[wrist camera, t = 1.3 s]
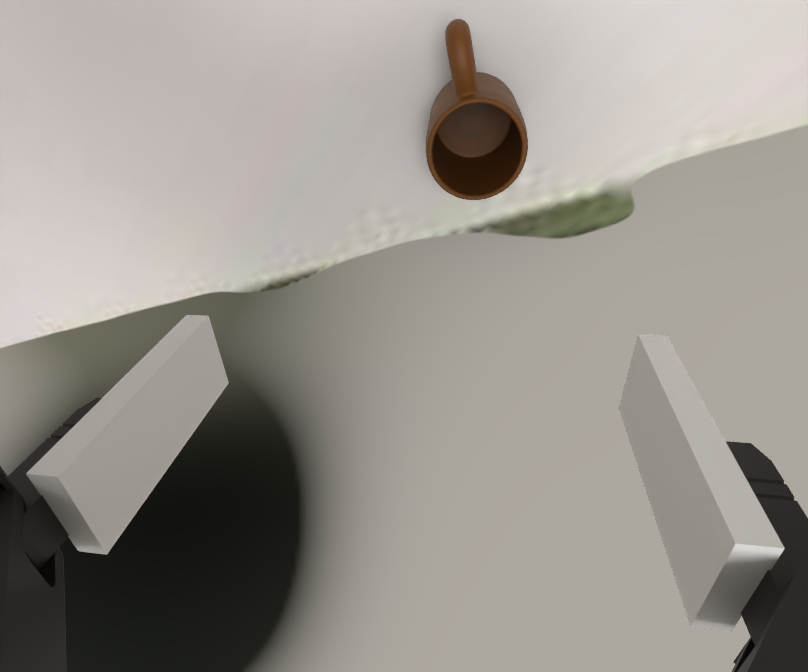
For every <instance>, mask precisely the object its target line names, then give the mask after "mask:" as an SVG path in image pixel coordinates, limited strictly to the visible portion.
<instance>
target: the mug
mask: <svg viewBox="0 0 808 672" xmlns="http://www.w3.org/2000/svg"><path fill="white" fill-rule="evenodd" d="M446 46H447V52H448V58H449V63H450V69H451V74H452V79H453V80H452V81H451V82H449V83H448V84H447V85H446V86H445V87H444V88H443V89H442V90H441V91H440V93H439V94H438V96H437V98H436V100H435V102H434V104H433V107H432V110H431V114H430V119H429V124H428V130H427V136H426V153H427V162H428V166H429V169H430V171H431V174H432V176H433V177H434V179H435V181H436V182H437V183H438V184H439V185H440V186H441V187H442V188H443V189H444V190H445V191H447V192H448V193H450V194H452V195H454V196H456V197H459V198H462V199H468V200H480V199H486V198H489V197H492V196H494V195H497V194H499V193H500V192H502V191H504V190H505V189H506V188H508V187H509V186H510V185H511V184H512V183H513V182H514V181H515V179H516V178H517V177H518V175H519V174H520V172H521V170H522V168H523V166H524V163H525V161H526V156H527V150H528V139H527V131H526V126H525V123H524V119H523V117H522V114H521V112H520V109H519V107H518V105H517V103H516V100H515V98H514V96H513V94H512V93H511V91H510V90H509V88H508V87H507V86H506V85H505V84H504V83H503V82H502V81H501V80H499V79H497V78H496V77H494V76H491V75H489V74H485V73H476V67H475V61H474V54H473V48H472V41H471V35H470V29H469V26H468V24H467V23H466V22H465V21H463V20H461V19H455V20H453V21H452V22H450V24H449V25H448V26H447V29H446Z"/></svg>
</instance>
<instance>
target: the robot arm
mask: <svg viewBox="0 0 808 672" xmlns="http://www.w3.org/2000/svg"><path fill="white" fill-rule="evenodd" d="M227 384H228V379H227V376H226V373H225V369H224V366H223V363H222V359H221V356H220V353H219V349H218V346H217V343H216V340H215V336H214V333H213V329H212V326H211V323H210V319H209V316H199V315H186V316H185V317H184V318H183V319H182V320H181V321H180V322H179V323H178V324H177V325H176V326H175V327H174V328H173V329H172V330H171V331H170V332H169V333H168V334H167V335H166V336H165V337H164V338H163V339H162V340H161V341H160V342H159V343H158V344H157V345H156V346H155V347H154V348H153V349H152V350H151V351H150V352H149V353H147V355H145V357H143V358H142V360H141V361H139V362H138V363H137V364H136V365H135V366H134V367H133V368H132V369H131V370H130V371H129V372H128V373H127V374H126V375H125V376H124V377H123V378H122V379H121V380H120V381H119V382H118V383H117V384H116V385H115V386H114V387H113V388H112V389H111V390H110V391H109V392H108V393H107V394H106V395H105V396H104V397H103V398H96V399H95V400H93V401H91V402H90V403H88V404H86V405H85V406H83V407H81V408H80V409H78V410H77V411H76V412H75V413H74V414H73V415H72V416H71V417H69V418H68V419H67V420H66V421H65V422H64V423H63V426H62V427H59V428H58V429H57V430H56V431H55V432H54V433H53V434H52V435H51V438H48V439H47V440H46V441H45V442H43V443H42V444H41V445H40V446H39V447H38V448H37V449H36V450H35V451H34V452H33V453H32V454H31V455H30V456H29V457H28V458H27V459H26V460H25V461H23V462H22V463H21V465H19V466H18V467H17V468H16V469H15V470H14V471H13V472H12V473H11V474H10V475H9V476H7V475H6V473H5V472H4V471H3V470H2V468H1V467H0V672H67V670H66V636H65V634H66V633H65V601H64V600H65V599H64V598H65V597H64V561H63V556H62V553H61V551H60V549H59V547H60V545H61V544H62V543H63V542H64V541H65V539H66V538H67V537H69V538H70V539H71V541H72V542H73V544H74V545H75V547H76V548H77V550H78V551H83V552H90V553H98V554H107V553H108V552H109V551H110V549H111V548H112V546H113V545H114V543H115V542H116V541H117V539H118V538H119V536H120V535H121V534H122V532H123V531H124V529H125V528H126V527H127V525H128V524H129V522H130V521H131V520H132V518H133V517H134V515H135V514H136V513H137V511H138V510H139V508H140V507H141V506H142V504H143V503H144V501H145V500H146V498H147V497H148V496H149V494H150V493H151V491H152V490H153V488H154V487H155V486H156V484H157V483H158V482H159V480H160V479H161V477H162V476H163V475H164V473H165V472H166V470H167V469H168V468H169V466H170V465H171V463H172V462H173V460H174V459H175V457H176V456H177V455H178V453H179V452H180V451H181V449H182V448H183V446H184V445H185V444H186V442H187V441H188V439H189V438H190V436H191V435H192V434H193V432H194V431H195V430H196V428H197V426H198V425H199V424H200V422H201V421H202V420H203V418H204V417H205V415H206V414H207V412H208V411H209V410H210V408H211V407H212V406H213V404H214V403H215V401H216V400H217V399H218V397H219V396H220V394H221V393H222V392H223V390H224V389H225V387H226V386H227ZM619 410H620V413H621V416H622V419H623V422H624V425H625V428H626V431H627V435H628V438H629V441H630V443H631V446H632V450H633V453H634V456H635V459H636V462H637V464H638V468H639V471H640V474H641V477H642V480H643V483H644V486H645V489H646V492H647V495H648V498H649V501H650V504H651V507H652V510H653V513H654V516H655V520H656V523H657V526H658V528H659V532H660V535H661V538H662V541H663V544H664V547H665V550H666V553H667V556H668V559H669V562H670V565H671V568H672V571H673V574H674V577H675V580H676V583H677V586H678V589H679V592H680V595H681V598H682V601H683V605H684V607H685V610H686V613H687V617H688V620H689V623H690V626H695V627H702V628H710V629H719V630H727V631H732V630H733V628H734V626H735V625H736V623H737V622H738V620H739V619H740V617H741V616H742V617H743V619H744V622H745V624H746V626H747V629H748V631H749V633H750V636H751V637H750V639H749V640H748V642H747V643H746V645H745V646H744V647H743V649H742V650H741V652H740V653H739V655H738V656H737V657H736V659H735V660H734V663H735V666H734V668H733V671H732V672H808V518H807V516H806V515H805V513H804V512H803V510H802V509H801V507H800V505H799V504H798V502H797V501H794V496H793V494H792V493H791V491H790V490H789V488H788V486H787V485H786V484H784V480H783V479H782V477H781V475H780V474H779V472H778V471H777V469H776V467H775V466H774V464H773V463H772V461H771V460H770V459H768V458H767V457H766V456H765V455H764V454H763V453H762V452H760V451H759V450H758V449H757V448H756V447H754V446H753V445H752V444H751V443H739V442H726V441H725V440H724V438H723V436H722V435H721V432H720V431H719V429H718V428H717V425H716V423H715V422H714V420H713V418H712V416H711V414H710V413H709V411H708V409H707V407H706V406H705V404H704V402H703V400H702V398H701V396H700V395H699V393H698V391H697V389H696V387H695V386H694V384H693V382H692V380H691V378H690V377H689V375H688V373H687V371H686V369H685V367H684V366H683V364H682V362H681V360H680V358H679V357H678V355H677V353H676V351H675V349H674V348H673V346H672V344H671V342H670V341H669V339H668V337H667V336H666V335H643V334H642V335H641V334H638V337H637V341H636V344H635V348H634V352H633V356H632V359H631V363H630V367H629V371H628V375H627V378H626V382H625V386H624V390H623V394H622V397H621V401H620V405H619Z"/></svg>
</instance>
